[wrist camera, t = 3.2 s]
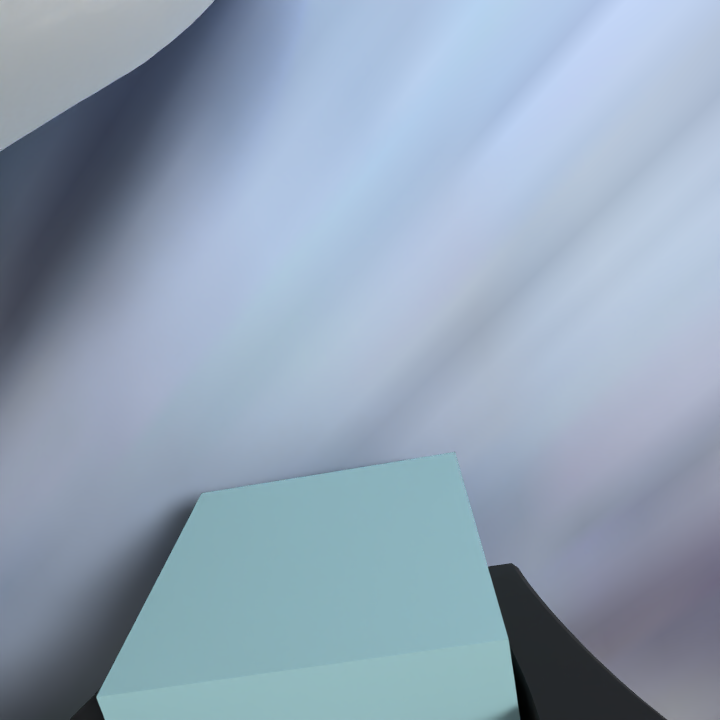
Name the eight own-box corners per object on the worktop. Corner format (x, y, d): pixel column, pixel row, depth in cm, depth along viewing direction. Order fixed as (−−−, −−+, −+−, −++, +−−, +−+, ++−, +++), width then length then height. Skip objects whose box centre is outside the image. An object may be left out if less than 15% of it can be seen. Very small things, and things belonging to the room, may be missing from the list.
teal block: (488, 663, 14) (552, 933, 9) (260, 694, 14) (201, 971, 9) (455, 452, 12) (508, 638, 7) (201, 493, 13) (95, 697, 8)
